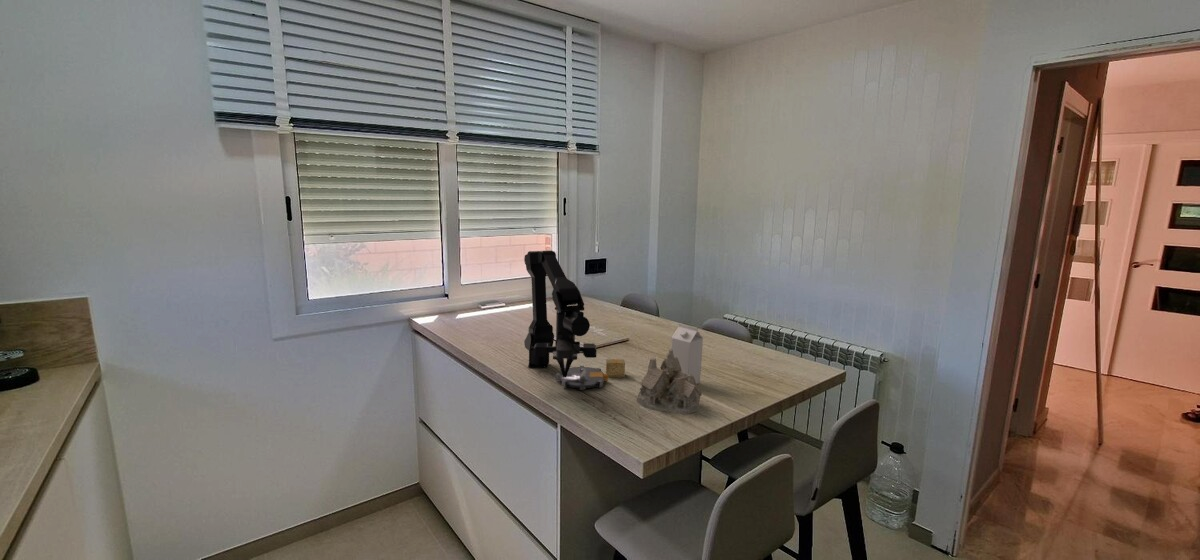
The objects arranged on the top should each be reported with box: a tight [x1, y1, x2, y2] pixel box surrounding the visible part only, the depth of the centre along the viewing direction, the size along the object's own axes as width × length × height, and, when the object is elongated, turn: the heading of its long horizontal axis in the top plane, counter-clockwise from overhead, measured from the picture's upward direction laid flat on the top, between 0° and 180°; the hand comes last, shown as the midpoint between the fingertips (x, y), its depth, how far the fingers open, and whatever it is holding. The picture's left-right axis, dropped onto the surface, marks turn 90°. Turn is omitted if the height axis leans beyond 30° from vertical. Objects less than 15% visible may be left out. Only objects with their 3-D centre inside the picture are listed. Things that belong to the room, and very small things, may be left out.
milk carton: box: [670, 322, 704, 385], centre depth 152 cm, size 7×7×19 cm
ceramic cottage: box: [636, 348, 703, 415], centre depth 136 cm, size 16×16×15 cm
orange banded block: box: [605, 358, 626, 378], centre depth 158 cm, size 6×4×5 cm, turn 93°
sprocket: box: [555, 365, 609, 391], centre depth 151 cm, size 16×16×6 cm
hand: (564, 377), depth 145 cm, fingers closed
